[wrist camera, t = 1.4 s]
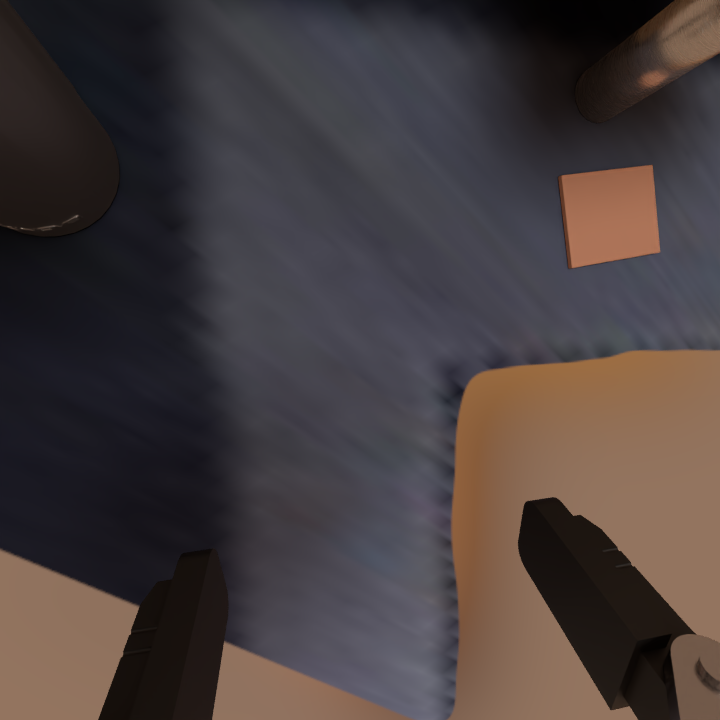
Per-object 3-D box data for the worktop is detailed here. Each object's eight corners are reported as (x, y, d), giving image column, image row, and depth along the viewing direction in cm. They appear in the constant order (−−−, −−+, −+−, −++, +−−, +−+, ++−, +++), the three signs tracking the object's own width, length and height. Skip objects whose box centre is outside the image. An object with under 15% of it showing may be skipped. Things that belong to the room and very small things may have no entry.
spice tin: (572, 69, 35) (730, -63, 23) (615, 67, 36) (787, -60, 24) (578, 124, 35) (735, 23, 24) (620, 121, 36) (790, 23, 25)
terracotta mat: (558, 177, 35) (561, 175, 35) (648, 166, 37) (652, 164, 37) (568, 268, 36) (572, 267, 36) (655, 253, 38) (660, 252, 38)
